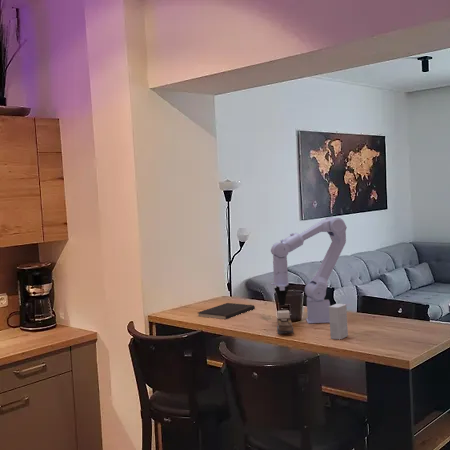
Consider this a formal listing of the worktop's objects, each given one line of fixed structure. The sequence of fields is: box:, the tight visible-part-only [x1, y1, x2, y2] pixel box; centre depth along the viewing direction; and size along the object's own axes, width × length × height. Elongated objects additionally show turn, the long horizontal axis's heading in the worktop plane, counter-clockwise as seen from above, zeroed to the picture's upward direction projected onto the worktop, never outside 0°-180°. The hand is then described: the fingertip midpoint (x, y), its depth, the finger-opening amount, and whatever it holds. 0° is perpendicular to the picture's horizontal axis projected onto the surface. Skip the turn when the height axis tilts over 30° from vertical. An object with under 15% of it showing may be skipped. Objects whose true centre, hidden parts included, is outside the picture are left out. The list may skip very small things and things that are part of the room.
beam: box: [276, 317, 294, 335], centre depth 227 cm, size 6×14×4 cm, turn 178°
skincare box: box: [329, 303, 349, 341], centre depth 213 cm, size 6×4×12 cm
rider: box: [276, 309, 291, 321], centre depth 232 cm, size 5×4×3 cm
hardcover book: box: [197, 302, 256, 320], centre depth 267 cm, size 16×23×2 cm
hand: (282, 305), depth 238 cm, fingers closed
